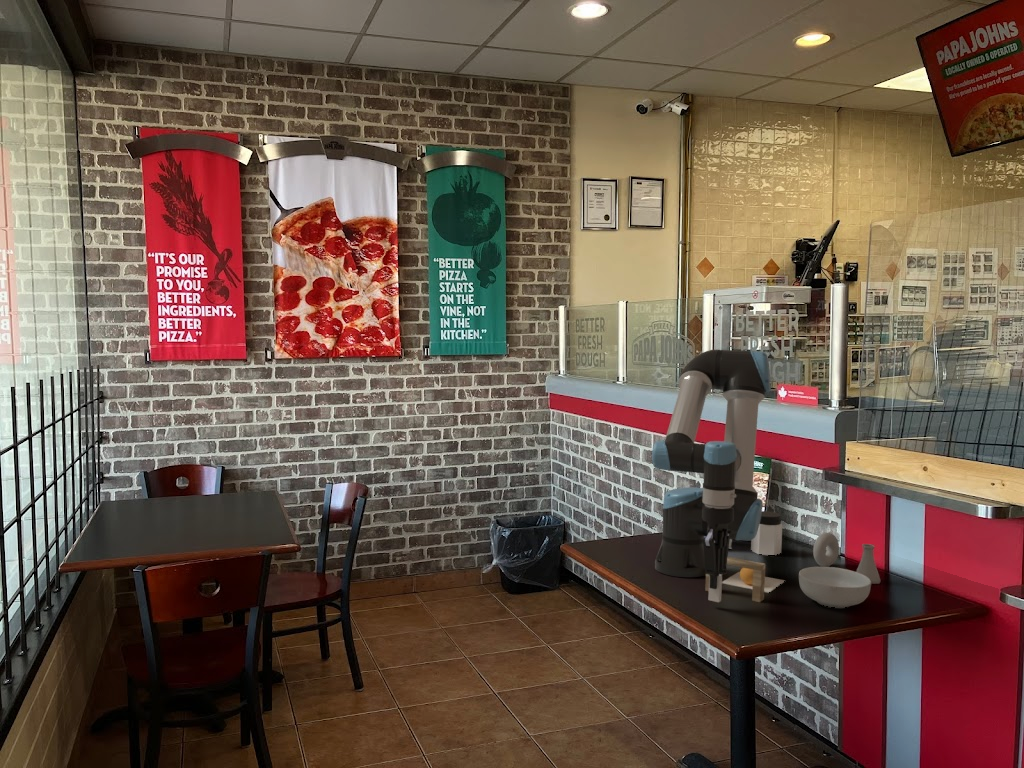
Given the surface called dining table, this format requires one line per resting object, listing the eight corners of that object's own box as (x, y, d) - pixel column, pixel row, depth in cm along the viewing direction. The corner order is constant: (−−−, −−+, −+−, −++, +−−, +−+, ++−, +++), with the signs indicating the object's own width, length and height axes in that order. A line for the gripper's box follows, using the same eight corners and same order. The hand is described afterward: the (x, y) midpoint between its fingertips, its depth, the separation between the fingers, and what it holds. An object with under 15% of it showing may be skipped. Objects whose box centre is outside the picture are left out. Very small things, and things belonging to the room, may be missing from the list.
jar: (770, 557, 251) (772, 518, 250) (746, 552, 256) (748, 513, 256) (785, 552, 257) (787, 514, 256) (761, 547, 263) (762, 509, 262)
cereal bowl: (787, 603, 208) (788, 575, 208) (811, 588, 221) (812, 562, 220) (857, 619, 197) (858, 590, 197) (878, 603, 210) (879, 575, 210)
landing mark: (721, 583, 224) (721, 582, 224) (739, 572, 234) (739, 571, 234) (769, 592, 216) (769, 592, 216) (785, 581, 227) (785, 580, 227)
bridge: (759, 602, 209) (761, 566, 208) (705, 590, 217) (706, 556, 216) (763, 599, 211) (765, 563, 210) (709, 587, 219) (711, 553, 219)
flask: (883, 585, 225) (885, 549, 224) (855, 583, 226) (857, 547, 225) (877, 578, 232) (879, 542, 231) (850, 576, 233) (851, 541, 233)
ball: (745, 562, 227) (743, 582, 226) (738, 562, 223) (735, 582, 222) (765, 566, 224) (762, 586, 223) (758, 565, 219) (756, 586, 219)
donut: (830, 562, 246) (832, 529, 246) (840, 565, 244) (842, 531, 243) (809, 567, 241) (811, 533, 240) (820, 570, 238) (821, 536, 237)
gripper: (722, 512, 194) (719, 610, 196) (743, 503, 205) (739, 597, 206) (692, 507, 199) (689, 604, 200) (714, 499, 209) (710, 590, 211)
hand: (714, 600), depth 203 cm, fingers closed
